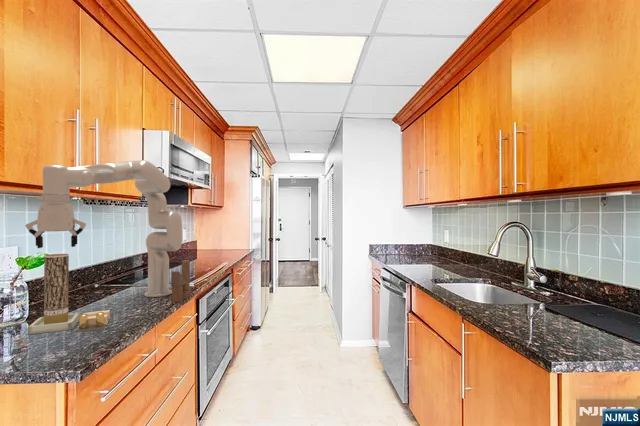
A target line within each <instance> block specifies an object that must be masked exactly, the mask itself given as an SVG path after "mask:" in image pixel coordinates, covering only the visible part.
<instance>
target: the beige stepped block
mask: <svg viewBox="0 0 640 426" xmlns="http://www.w3.org/2000/svg"><path fill="white" fill-rule="evenodd" d="M98 312H104V324H105V326H107V325H108V323H109V321H110V319H111V309H107V310H99V311H97V310H96V311H89V312H84V313H83V314H88V317H87V326H95V325H96V313H98Z"/></svg>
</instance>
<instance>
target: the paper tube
mask: <svg viewBox="0 0 640 426" xmlns="http://www.w3.org/2000/svg"><path fill="white" fill-rule="evenodd" d="M69 258H70V255H69V253H54V254H53V253H52V254H45V255H44V259H43V260H44V263H43V264H44V266H43V268H44V270H43V273H44V275H43V277H44V279H43V288H44V289H43V317H44V325H46V324H55V323H64V322H68V314H69V276H70V275H69V273H70V272H69V267H70V266H69V261H70V260H69Z"/></svg>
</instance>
